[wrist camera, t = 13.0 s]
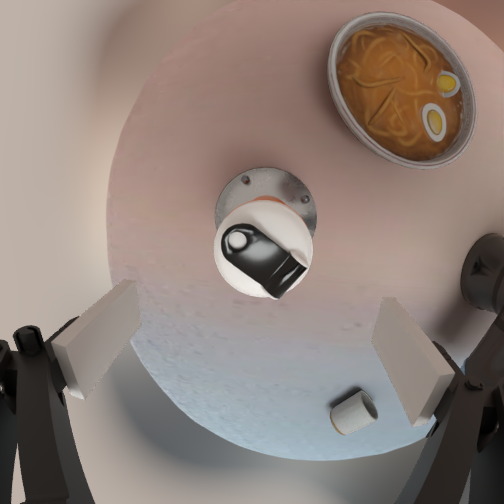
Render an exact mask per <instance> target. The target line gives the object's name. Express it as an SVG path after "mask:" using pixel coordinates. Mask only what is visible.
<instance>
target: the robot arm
mask: <svg viewBox="0 0 504 504" xmlns="http://www.w3.org/2000/svg"><path fill="white" fill-rule="evenodd" d="M461 289H462V293H463V296H464V298H465V299H466V301H467V302H468V303H470V304H471V305H472V306H473V307H475V308H477V309H481V310H487V311H490V312H495V313H496V314H497V315H498V316H497V317H496V319H495V321H494V322H493V323H492V325H491V327H490V328H489V330H488V331H487V332H486V334H485V335H484V337H483V338H482V340H481V341H480V342H479V344H478V345H477V347H476V348H475V349H474V351H473V352H472V353H471V355H470V356H469V357H468V358H466V360H465V361H464V364H463V366H462V367H461V368H459V367H458V366H457V364H456V363H455V362H454V361H453V360H452V358H451V357H450V356H449V354H447V352H446V351H445V349H444V348H443V347H442V346H441V345H439V344H438V343H436V342H435V341H430V339H429V338H428V337H427V336H426V334H425V333H424V332H423V331H422V329H421V328H420V327H419V326H418V324H417V323H416V322H415V321H414V320H413V318H412V317H411V316H410V315H409V314H408V312H407V311H406V310H405V309H404V308H403V307H402V305H401V304H400V303H399V302H398V301H397V300H396V298H382V302H381V307H380V311H379V315H378V319H377V323H376V326H375V330H374V334H373V337H372V341H371V342H372V344H373V345H374V347H375V349H376V351H377V353H378V355H379V357H380V359H381V361H382V363H383V365H384V367H385V369H386V371H387V373H388V376H389V378H390V380H391V382H392V384H393V386H394V388H395V390H396V392H397V394H398V396H399V399H400V401H401V403H402V405H403V407H404V410H405V412H406V414H407V416H408V418H409V421H410V423H411V425H412V427H414V426H419V425H424V424H427V423H428V422H429V420H430V418H431V417H432V415H433V414H434V416H435V417H436V419H437V420H436V422H435V423H434V425H433V426H432V428H431V430H430V431H429V433H428V434H427V436H426V438H428V439H427V442H426V444H425V446H424V449H423V451H422V453H421V455H420V458H419V460H418V461H417V464H416V466H415V468H414V470H413V472H412V474H411V476H410V477H409V479H408V481H407V483H406V485H405V487H404V488H403V490H402V492H401V494H400V495H399V497H398V499H397V501H396V502H395V504H459V502H460V499H461V496H462V493H463V490H464V488H465V485H466V482H467V478H468V475H469V472H470V468H471V478H470V493H469V503H468V504H504V237H502V236H499V235H497V234H488V235H485V236H484V237H482V238H481V239H479V240H478V241H477V242H476V243H475V245H474V246H473V247H472V249H471V250H470V252H469V254H468V256H467V258H466V260H465V263H464V266H463V270H462V275H461ZM140 326H141V317H140V310H139V302H138V293H137V283H136V281H135V280H127V279H124V280H123V281H121V282H120V283H119V284H118V285H116V286H115V287H114V288H113V289H112V290H110V291H109V292H108V293H107V294H106V295H105V296H103V297H102V298H101V299H100V300H99V301H97V302H96V303H95V304H94V305H93V306H91V307H90V308H89V309H88V310H87V311H86V312H84V313H83V314H82V315H81V316H78V317H75V318H73V319H71V320H69V321H68V322H67V323H66V324H65V325H64V326H63V327H62V328H60V329H59V331H57V332H55V333H54V334H53V335H52V336H51V337H50V338H49V339H48V340H46V341H45V342H44V341H43V338H42V335H41V332H40V328H38V327H37V326H32V325H30V326H24V327H22V328H19V329H18V330H16V331H15V332H14V334H13V338H14V341H15V344H16V346H17V349H18V351H11V350H10V348H9V345H8V342H7V341H5V340H0V385H1V387H2V391H1V390H0V504H11V493H12V480H13V471H14V463H15V455H16V449H17V443H18V450H19V460H20V468H21V475H22V480H23V486H24V492H25V497H26V500H25V502H23V503H20V504H95V502H94V500H93V497H92V494H91V492H90V489H89V486H88V483H87V481H86V478H85V475H84V472H83V469H82V466H81V462H80V459H79V456H78V452H77V449H76V445H75V441H74V437H73V433H72V429H71V425H70V420H69V416H68V410H67V405H66V400H65V395H64V393H63V391H62V390H63V389H64V388H65V386H66V385H67V387H68V389H69V392H70V394H71V395H72V396H74V397H77V398H80V399H82V400H85V399H86V398H87V397H88V395H89V394H90V392H91V391H92V390H93V388H94V387H95V386H96V384H97V383H98V381H99V380H100V379H101V377H102V376H103V375H104V373H105V372H106V370H107V369H108V368H109V367H110V365H111V364H112V363H113V361H114V360H115V359H116V357H117V356H118V354H119V353H120V352H121V351H122V349H123V348H124V346H125V345H126V344H127V342H128V341H129V340H130V339H131V338H132V336H133V335H134V334H135V332H136V331H137V330H138V329H139V327H140ZM497 427H498V428H497Z"/></svg>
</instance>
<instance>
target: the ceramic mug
mask: <svg viewBox="0 0 504 504" xmlns="http://www.w3.org/2000/svg"><path fill="white" fill-rule="evenodd" d="M330 419H331V422H332V425H333V427H334V428H335V429H336V431H337V432H338V433H340V434H342V435H347V434H350V433H353V432H355V431H357V430H359V429H361V428H363V427H365V426H367V425H369V424H371V423H373V422H375V421H376V420H377V419H378V413H377V410H376V407H375V405H374V403H373V402H372V400H371V398H370V397H369V396H368V395H367V394H366V393H365V392H364V391H359V392H358V393H356V394H355V395H353V396H351V397H350V398H348V399H347V400H345V401H344V402H342V403H340V404H339V405H337V406H335V407H334V408H333V409H332V410H331V413H330Z"/></svg>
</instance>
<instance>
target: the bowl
mask: <svg viewBox="0 0 504 504" xmlns="http://www.w3.org/2000/svg"><path fill="white" fill-rule="evenodd" d="M327 77H328V85H329V88H330V92H331V96H332V99H333V101H334V104H335V106H336V108H337V110H338V113H339V115H340V116H341V118H342V119H343V121H344V122H345V124H346V125H347V127H348V128H349V129H350V131H351V132H352V133H353V134H354V135H355V136H356V137H357V138H358V139H359V141H360V142H362V143H363V144H364V145H365V146H367V147H368V148H369V149H370V150H371V151H373V152H374V153H375V154H377V155H379V156H381V157H383V158H384V159H386V160H388V161H390V162H393V163H396V164H399V165H401V166H404V167H408V168H415V169H422V170H425V169H436V168H440V167H442V166H445V165H448V164H450V163H452V162H453V161H454V160H456V159H457V158H459V157H460V156H461V155H462V153H463V152H464V151H465V150H466V149H467V148H468V146H469V144H470V142H471V140H472V138H473V135H474V131H475V127H476V122H477V103H476V95H475V91H474V87H473V84H472V81H471V78H470V76H469V74H468V71H467V69H466V67H465V65H464V64H463V62H462V61H461V59H460V57H459V56H458V54H457V53H456V52H455V51H454V49H453V48H452V47H451V46H450V45H449V43H448V42H447V41H446V40H444V39H443V38H442V37H441V36H440V35H439V34H438V33H437V32H435V31H434V30H433V29H431V28H430V27H428V26H427V25H425V24H424V23H422V22H420V21H417V20H415V19H413V18H411V17H409V16H405V15H402V14H398V13H394V12H384V11H379V12H370V13H365V14H363V15H360V16H357V17H355V18H353V19H352V20H350V21H349V22H347V23H346V24H345V25H344V26H343V27H342V28H341V29H340V31H339V32H338V33H337V34H336V36H335V38H334V40H333V43H332V45H331V47H330V52H329V57H328V63H327Z"/></svg>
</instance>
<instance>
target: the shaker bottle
mask: <svg viewBox="0 0 504 504" xmlns="http://www.w3.org/2000/svg"><path fill="white" fill-rule="evenodd" d="M312 255H313V245H312V239H311V236H310V233H309V230H308V228H307V226H306V224H305V222H304V221H303V219H302V218H301V217H300V216H299V215H298V213H297V212H296V211H295V210H293V209H292V208H290V207H289V206H287V205H286V204H285V203H284V202H283V201H282V200H280V199H279V198H276V197H274V196H267V195H264V196H259V197H257V198H255V199H253V200H252V201H249V202H246V203H244V204H242V205H240V206H238V207H237V208H235V209H234V210H232V211H231V213H230V214H229V215H228V216H227V217H226V218H225V219H224V221H223V222H222V224H221V225H220V227H219V228H218V231H217V234H216V236H215V241H214V257H215V261H216V265H217V267H218V269H219V271H220V273H221V275H222V276H223V277H224V279H225V280H226V281H227V282H228V283H229V284H230V285H231V286H232V287H234V288H235V289H237V290H238V291H240V292H242V293H245V294H247V295H250V296H255V297H270V298H272V299H274V300H278V299H279V298H280V297H281V296H282V295H283V294H284V293H285V292H287V291H289V290H291V289H292V288H294V287H295V286H296V285H297V284H298V283H299V282H300V281H301V280H302V279H303V278H304V276H305V275H306V273H307V271H308V269H309V267H310V264H311V260H312Z"/></svg>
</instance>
